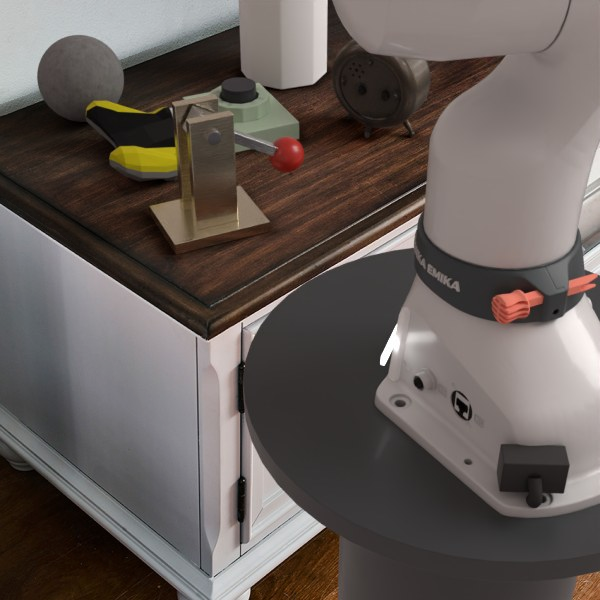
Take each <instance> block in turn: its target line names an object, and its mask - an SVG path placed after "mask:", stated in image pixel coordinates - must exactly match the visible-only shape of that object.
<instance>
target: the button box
mask: <svg viewBox="0 0 600 600" xmlns="http://www.w3.org/2000/svg"><path fill="white" fill-rule="evenodd" d="M212 94H215V95H216V96H217V97H218V106H219V113H220V112H225V111H231V112H232V114H233V116H234V130H237V131H240V132H243V133H245V134H248V135H251V136H254V137H257V138H259V139H262V140H265V141H268V142H271V143H273V142H274V141H275V140H277V139H279V138H281V137H292V138H294V139H296V140H300V122H299V120H298V119H297V118H296V117H295V116H293V114H292V113H291V112H290V111H288V110H287V108H286V107H284V106H283V104H281V103H280V102H279V100H277V99H276V98H275V97H274V96H273V95H272V94H271V93H270V92H269V91H268V90H267V89H266V87H265V86H262V85H261V84H260V83H256V99H255V100H254V101H252V102H249V103H244V104H232V103H228V102H225V101H223V100H222V90H221V85H219V86H217V87H216V88H214V89H212V90H211V91H208V92H203V93H198V94H193V95H187V96H182V100H186V99H191V98H197V97H202V96H207V95H212ZM250 150H251V149H250V148H247V147H244V146H241V145H239V144H236V143H235V154H237V153H241V152H246V151H250Z"/></svg>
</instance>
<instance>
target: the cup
mask: <svg viewBox="0 0 600 600" xmlns="http://www.w3.org/2000/svg"><path fill="white" fill-rule="evenodd" d="M328 1H329V0H238V20H239V21H238V22H239V43H240V44H239V45H240V71H241V72H242V74H243V75H244V76H245V78H249V79H251V80H253V81H254V82H255V83H260V84H261V85H262V86H263V87H264V88H271V89H276V90H280V91H281V90H289V89H295V88H301V87H302V88H303V87H309V86H313V85H314V84H316V83H317V82H318V81H319V80H320V79H321V78H322V77H323V76H324V75H326V73H327V72H328V71H327V70H328V4H329V3H328Z"/></svg>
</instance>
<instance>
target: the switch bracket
mask: <svg viewBox="0 0 600 600" xmlns="http://www.w3.org/2000/svg"><path fill="white" fill-rule="evenodd" d="M192 106H195V107H198V108H201V109H204V110H206V111H209V112H212V113H215V114H210V115H205V116H200V117H195V118H190V119H186V118H187V116H188V114H189V112H190V110H191V108H192ZM171 108H172V111H173V123H174V135H175V147H176V160H177V172H178V179H177V182H178V196H179V199H174V200H170V201H165V202H161V203H155V204H152V205H149V216H150V217H151V219H152V220H153V222H154V223H155V225H156V227H157V228H158V229H159V231H160V233H161V234H162V236H163V237H164V238H165V240H166V242H167V243H168V245H169V246H170V248H171V249H172V251H173V252H174V254H175V255H179V254H180V255H181V254H184V253H188V252H192V251H196V250H201V249H205V248H208V247H212V246H216V245H221V244H226V243H229V242H233V241H238V240H241V239H242V240H243V239H246V238H249V237H253V236H257V235H262V234H266V233H270V232H271V221H270V220H269V218H267V216H266V215H265V213H263V211H262V210H261V209H260V208H259V206H258V205H257V204H256V203H255V201H254V200H253V199H252V198H251V197H250V196H249V194H248V193H247V192H246V190H245V189H244V188H243V187H242V186H241V185H237V163H236V153H235V138H234V116H233V114H232V112H231V111H225V112H220V113H219V106H218V97H217V96H216V95H215V94H212V95H207V96H202V97H197V98H191V99H186V100H183V99H181V100H176V101H172V102H171ZM185 120H186V129H187V133H186V132H185V130H184V129H183V128H182V126H183V124H184V122H185Z"/></svg>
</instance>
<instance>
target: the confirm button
mask: <svg viewBox="0 0 600 600" xmlns="http://www.w3.org/2000/svg"><path fill="white" fill-rule="evenodd" d="M220 86H221V90H222V100H223V101H225V102H228V103H232V104H244V103H249V102H252V101H254V100H255V99H256V83H255V82H254V81H253V80H251V79H249V78H247V77H230V78H226V79H225V80H223V81H222V82H221V84H220Z"/></svg>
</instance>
